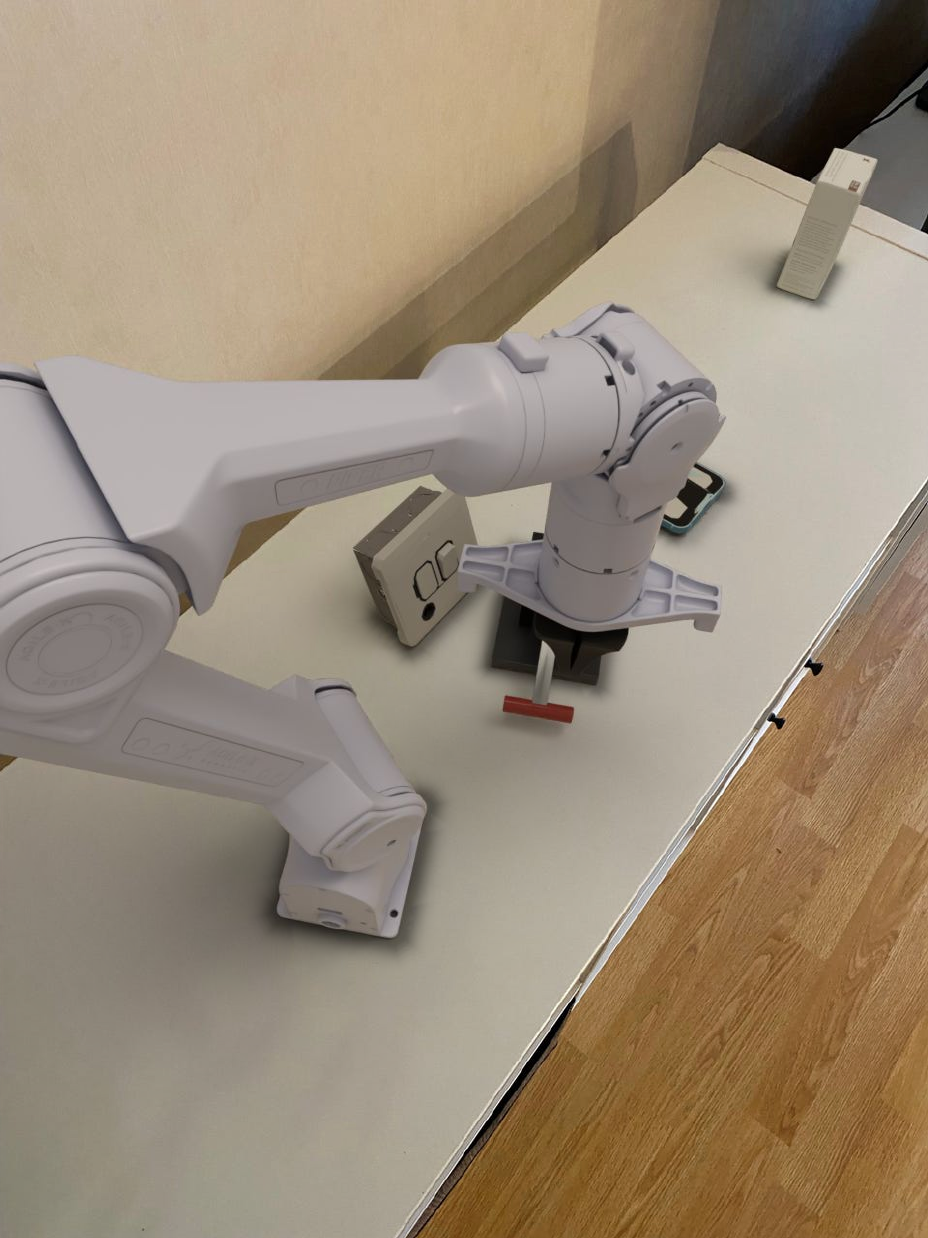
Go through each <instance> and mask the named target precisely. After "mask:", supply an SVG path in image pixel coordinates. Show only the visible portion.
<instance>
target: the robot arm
mask: <svg viewBox="0 0 928 1238" xmlns="http://www.w3.org/2000/svg"><path fill="white" fill-rule="evenodd" d="M33 366H34V367H35V369H36V370H34V369H32V368H30V367H27V366H24V365H21V364H17V363H14V362H9V361H8V362H7V361H2V360H1V361H0V755H4V756H9V757H15V758H19V759H25V760H29V761H35V762H40V763H45V764H51V765H56V766H60V767H66V768H70V769H77V770H81V771H86V772H92V773H97V774H102V775H107V776H112V777H117V778H122V779H126V780H127V779H128V780H133V781H136V782H137V781H138V782H143V783H148V784H152V785H153V784H154V785H158V786H164V787H168V788H174V789H178V790H184V791H188V792H193V793H199V794H205V795H210V796H214V797H220V798H226V799H230V800H235V801H239V802H245V803H251V804H256V805H262V806H263V807H264V808H265V809H266V810H267V812H269V813H270V814H271V816H273V817H274V819H275V820H276V821H277V822H278V823H279V824H280V825H281V827H283V828H284V830H285V831H286V832H287V833H288V834H289V842H288V851H287V856H286V859H285V863H284V866H283V870H282V874H281V877H280V880H279V885H278V892H279V899H278V902H277V905H276V912H277V914H278V915H279V916H280V917H282V918H284V919H290V920H293V921H294V920H295V921H298V922H299V921H300V922H305V923H309V924H314V925H318V926H319V925H321V926H324V927H327V928H330V929H334V930H345V931H350V932H356V933H361V934H365V935H371V936H376V937H380V938H386V939H393V938H395V937H396V936H398V934H399V931H400V926H401V921H402V918H403V913H404V909H405V905H406V899H407V895H408V889H409V887H410V881H411V877H412V872H413V867H414V863H415V858H416V854H417V850H418V845H419V839H420V836H421V830H422V826H423V823H424V819H425V817H426V814H427V812H428V804H427V803H426V801H425V800H424V798H423V797H422V796H421V794H419V793H417V792H416V791H415V789H414V787H413V786H412V784H411V783H410V781H409V779H408V778H407V776H406V775H405V773H404V772H403V770H402V768H401V767H400V765H399V764H398V762H397V760H396V759H395V758H394V756H393V754H392V752H391V751H390V749H389V748H388V746H387V745H386V743H385V742H384V740H383V738H382V737H381V735H380V733H379V732H378V730H377V729H376V727H375V725H374V724H373V722H372V721H371V719H370V718H369V716H368V715H367V713H366V711H365V709H364V708H363V707H362V705H361V703H360V702H359V700H358V698H357V692H356V691H355V689H354V687H353V686H352V684H351V683H350V682H349V681H347V680H346V679H343V678H339V677H327V678H326V677H322V678H321V677H320V678H315V679H308V678H305V677H303V676H300V675H298V674H292V675H290V676H288V677H286V678H285V679H282V680H281V681H280V682H278V683H277V684H275V685H273V686H272V687H270V688H269V689H268V688H265V687H263V686H260V685H257V684H255V683H252V682H249V681H247V680H245V679H242V678H239V677H236V676H234V675H232V674H229V673H226V672H224V671H221V670H218V669H216V668H213V667H211V666H209V665H206V664H204V663H201V662H198V661H195V660H194V659H190V658H187V657H185V656H182V655H180V654H178V653H175V652H173V651H171V650H167V649H166V648H167V646H168V645H169V643H170V641H171V639H172V637H173V635H174V633H175V631H176V629H177V627H178V623H179V620H180V612H181V605H180V598H179V596H180V595H181V594H183V593H184V594H185V596H186V597H187V599H188V601H189V602H190V604H191V606H192V608H193V610H194V611H195V614H196V615H197V616H199V617H200V616H203V615H204V614H206V613H207V612H209V610H210V609H211V608H212V607H213V605H214V603H215V601H216V598H217V596H218V593H219V590H220V589H221V585H222V584H223V580H224V578H225V575H226V573H227V571H228V568H229V565H230V563H231V561H232V558H233V555H234V553H235V550H236V547H237V545H238V542H239V539H240V537H241V535H242V532H243V530H244V528H245V526H246V525H248V524H249V523H253V522H257V521H261V520H265V519H268V518H272V517H275V516H279V515H280V516H281V515H283V514H287V513H292V512H294V511H298V510H302V509H306V508H310V507H313V506H318V505H321V504H324V503H327V502H328V503H329V502H332V501H336V500H340V499H343V498H348V497H351V496H355V495H358V494H362V493H365V492H370V491H374V490H377V489H378V490H379V489H380V488H381V489H382V488H384V487H388V486H392V485H397V484H400V483H403V482H407V481H411V480H415V479H418V478H422V477H423V478H424V477H426V476H430V475H432V476H433V477H434V479H436V480H437V481H438V482H439V483H440V484H441V485H443V486H444V487H445V488H446V489H447V488H448V489H449V490H450V491H452V492H454V493H456V494H458V495H461V496H464V497H465V498H475V497H482V496H487V495H492V494H497V493H503V492H509V491H514V490H519V489H525V488H529V487H535V486H540V485H546V484H550V489H549V490H550V491H549V497H548V505H547V512H546V518H545V524H544V531H543V533H544V537H543V540H535V541H532V540H528V541H520V542H512V543H504V544H494V545H493V544H492V545H479V544H478V545H469V544H464V546H463V551H462V555H461V559H460V563H459V568H458V584H457V590H458V591H464V592H467V593H469V594H472V593H476V592H477V590H478V587H479V586H483V587H484V588H487V589H489V590H492V591H493V592H496V593H497V594H499V595H502V596H503V597H504V596H506V597H508V598H510V599H512V600H514V601H516V602H518V603H520V604H522V605H524V606H526V607H528V608H530V609H532V610H534V611H536V613H535V619H534V629H535V633H536V637H537V638H539V639H541V640H542V641H544V642H545V643H546V644H547V645H548V646H549V647H550V648H551V650H552V652H553V653H554V655H555V658H556V660H557V664H558V668H559V673H562V674H567V675H573V676H580V675H581V674H582V672H583V671H584V670H585V669H586V668H587V667H588V666H589V665H590V664H591V663H592V662H593V661H594V660H595V659H597V658H598V657H600V656H601V657H602V656H604V655H607V654H610V653H617V652H620V651H621V650H622V649H623V648H624V646H625V644H626V642H627V640H628V638H629V633H630V632H629V631H630V629H631V628H636V627H637V628H638V627H643V626H651V625H658V624H666V623H674V622H682V621H691V620H692V621H693V624H692V625H693V628H694V629H695V630H696V631H701V632H705V633H714V630H715V628H716V626H717V624H718V621H719V619H720V616H721V615H722V599H723V585H722V584H717V583H711V582H707V581H704V580H701V579H697V578H695V577H692V576H690V575H687V574H685V573H683V572H681V571H679V570H677V569H675V568H673V567H671V566H668V565H667V564H664V563H662V562H660V561H658V560H655V559H654V558H652V555H653V552H654V549H655V546H656V543H657V539H658V537H659V533H660V530H661V526H662V525H661V523H662V520H663V517H664V514H665V510H666V507H667V504H668V502H669V501H671V500H673V499H675V498H676V497H677V495H678V494H679V491H680V490H681V489H683V488H684V487H685V484H686V481H687V478H688V475H689V473H690V471H691V469H692V467H693V466H694V464H695V463H696V462H698V461H699V460H700V458H701V457H702V456H703V455H704V454H705V453H706V452H707V450H709V448H710V447H711V445H712V444H713V443H714V441H715V440H716V438H717V437H718V435H719V434H720V432H721V430H722V428H723V426H724V424H725V421H726V419H727V416H726V415H721V411H720V409H719V407H718V405H717V404H716V403H717V395H718V394H717V389H716V386H715V384H714V383H713V382H712V381H711V380H710V379H709V378H708V377H707V376H706V375H705V374H703V372H702V371H700V370H699V368H697V367H696V366H695V365H694V364H693V363H692V362H691V361H690V360H689V359H688V357H686V356H685V355H684V354H683V353H682V352H681V351H680V350H678V348H676V347H675V346H674V345H673V343H671V342H670V341H669V340H668V339H667V338H666V337H665V336H664V335H663V334H662V333H661V332H660V331H658V330H657V328H655V327H654V325H652V324H651V323H650V322H649V320H647V319H646V318H645V317H644V316H642V315H640V314H638V313H636V311H634V309H633V308H631V307H629V306H628V305H625V304H621V303H620V304H619V303H618V304H617V303H614V302H613V301H611V300H610V301H606V302H602V303H600V304H597V305H595V306H593V307H591V308H589V309H588V310H586V311H584V312H583V313H581V314H580V315H578V316H577V317H576V318H575V319H573V320H572V321H570V323H568V324H566V325H564V326H562V327H558V328H552V329H551V330H550V332H549V333H544V334H542V336H541V337H540V338H534V337H533V335H532V334H531V333H529V332H528V331H518V332H506V333H504V334H502V336H501V338H500V340H499V341H487V342H473V343H472V342H471V343H457V344H452V345H448V346H447V347H444V348H442V349H441V350H439V351H438V352H437V353H436V354H434V356H433V357H432V358H431V359H430V360H429V361H427V363H426V365H425V367H424V368H423V370H422V372H421V373H420V375H419V377H418V378H417V379H414V378H413V379H411V378H410V379H409V378H408V379H407V378H406V379H405V378H403V379H321V380H319V379H316V380H315V379H313V380H312V379H311V380H309V379H308V380H306V379H305V380H304V379H303V380H299V379H297V380H219V381H217V380H215V381H213V380H212V381H208V380H207V381H203V380H201V381H183V380H174V379H169V378H163V377H160V376H157V375H153V374H150V373H145V372H142V371H138V370H134V369H131V368H127V367H125V366H124V367H123V366H119V365H116V364H113V363H108V362H105V361H102V360H97V359H95V358H91V357H87V356H83V355H78V354H70V355H69V354H68V355H61V356H56V357H51V358H46V359H41V360H36V361H33ZM577 630H578V631H577ZM576 631H577V634H576ZM393 912H396V913H397V915H396V916H394V917H393V916H391V914H392V913H393Z"/></svg>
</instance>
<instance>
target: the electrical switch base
mask: <svg viewBox="0 0 928 1238" xmlns="http://www.w3.org/2000/svg"><path fill="white" fill-rule="evenodd" d="M543 537H544V532H538V531H533V532H532V536H531V541H535V540H543ZM535 613H536V611H534V610H532V609H530V608H528V607H526V606H524V605H522V604H520V603H518V602H516V601H514V600H512V599H510V598H508V597H506V596H504V595H503V600H502V606H501V610H500V614H499V615H500V616H499V619H498V620H499V621H498V625H497V626H498V627H497V630H496V635H495V640H494V646H493V650H492V656H491V661H490V667H491V668H496V669H501V670H507V671H513V672H519V673H524V674H525V673H526V674H531V675H536V673H537V667H538V661H539V655H540V649H541V644H542V640H541V639H539V638H537V637H536V633H535V629H534V619H535ZM577 631H578V630H577ZM577 631H576V634H577ZM601 664H602V656H600V657H598V658H597V659H595V660H594V661H593V662H592V663H591V664H590V665H589V666H588V667H587V668H586V669H585V670H584V671H583V672H582V674H581V675H580V676H573V675H567V674H562V673H559V668H558V664H557V660H556V658H555V659H554V665H553V671H552V679H553V678H554V679H559V680H566V681H571V682H577V683H583V684H589V685H595V686H597V685H598V683H599V682H598V681H599V678H600V671H601Z"/></svg>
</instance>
